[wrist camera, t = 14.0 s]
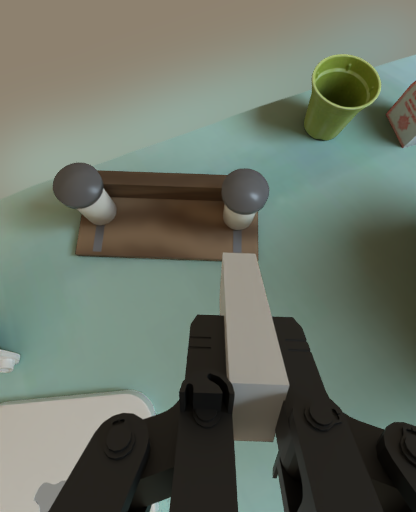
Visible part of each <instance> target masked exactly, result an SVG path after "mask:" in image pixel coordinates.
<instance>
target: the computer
mask: <svg viewBox="0 0 416 512" xmlns="http://www.w3.org/2000/svg"><path fill="white" fill-rule="evenodd" d="M121 413H133V414H135V415H137V416H139V417H140V418H142V419H145V418H148V417H152V416H155V415H156V414H155V409H154V407H153V404H152V402H151V401H150V399H149V398H148V397H147V396H146V395H144V394H143V393H141V392H139V391H136V390H122V391H111V392H101V393H90V394H80V395H69V396H58V397H48V398H37V399H27V400H16V401H7V402H3V403H0V512H48V511H49V509H50V508H51V506H52V504H53V503H54V501H55V499H56V497H57V496H58V494H59V492H60V491H61V489H62V487H63V486H64V484H65V482H66V480H67V479H68V477H69V475H70V474H71V472H72V470H73V468H74V467H75V465H76V463H77V462H78V460H79V458H80V457H81V455H82V453H83V451H84V450H85V448H86V446H87V445H88V443H89V441H90V440H91V438H92V436H93V434H94V433H95V432H96V430H97V429H98V428H99V427H100V425H101V424H102V423H103V422H104V421H106V420H107V419H109V418H110V417H112V416H114V415H117V414H121ZM150 512H159V502H157V503H154V504H152V506H151V509H150Z"/></svg>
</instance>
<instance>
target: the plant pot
mask: <svg viewBox="0 0 416 512" xmlns="http://www.w3.org/2000/svg"><path fill="white" fill-rule="evenodd" d="M380 90H381V80H380V77H379V75H378V73H377V71H376V70H375V69H374V67H372V66H371V65H370V64H369V63H368V62H366V61H364V60H363V59H361V58H359V57H356V56H352V55H346V54H339V55H333V56H329V57H327V58H325V59H324V60H322V61H321V62H320V63H318V65H317V66H316V68H315V69H314V71H313V74H312V94H311V97H310V101H309V105H308V108H307V112H306V115H305V119H304V127H305V130H306V132H307V133H308V134H309V135H310V136H311V137H313V138H315V139H322V140H330V139H333V138H334V137H336V136H337V135H338V134H339V133H340V132H341V131H342V129H343V128H344V127H345V126H346V125H347V124H348V123H349V122H350V121H351V120H352V119H353V118H354V116H355V115H356V114H357V113H358V112H360V111H361V110H362V109H364V108H366V107H368V106H369V105H371V104H372V103H373V102H374V101H375V100H376V98H377V97H378V95H379V93H380Z"/></svg>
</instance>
